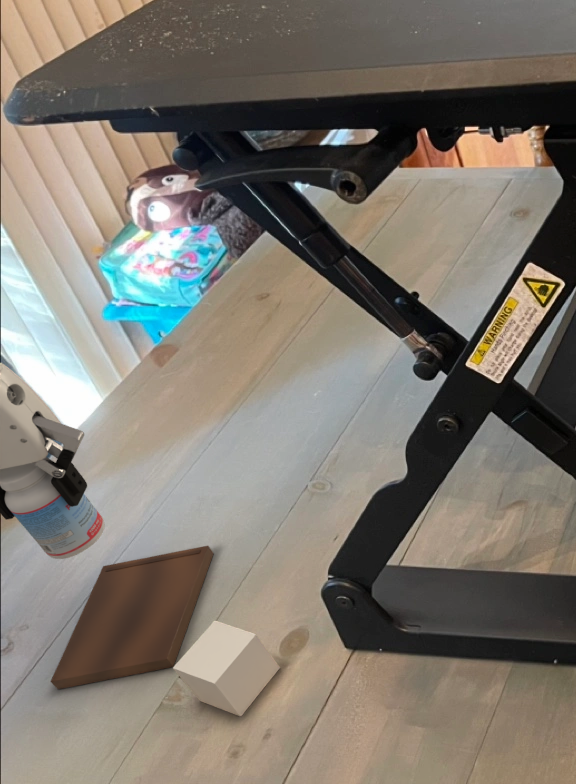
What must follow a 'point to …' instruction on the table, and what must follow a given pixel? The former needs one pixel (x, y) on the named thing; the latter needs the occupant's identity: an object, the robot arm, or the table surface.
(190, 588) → the serving tray
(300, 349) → the table surface
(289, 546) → the table surface
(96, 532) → the pill bottle
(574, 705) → the table surface
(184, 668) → the white cube
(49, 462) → the robot arm
